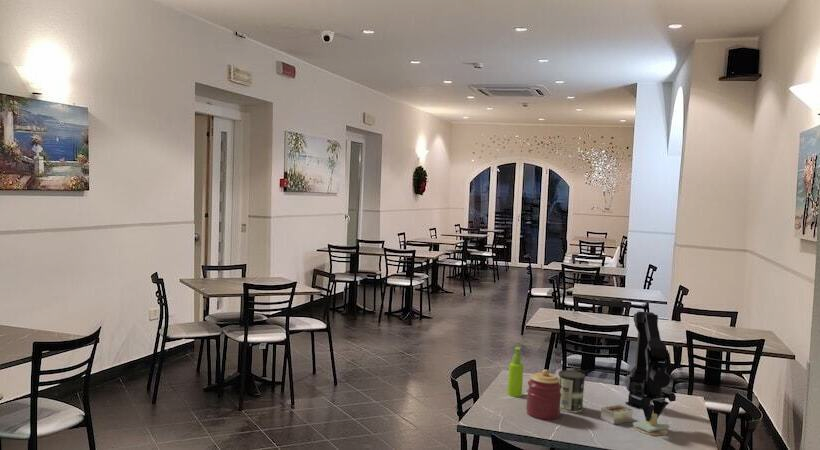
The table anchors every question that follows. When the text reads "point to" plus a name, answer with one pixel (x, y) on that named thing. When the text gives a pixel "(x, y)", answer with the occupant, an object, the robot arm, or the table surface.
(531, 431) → the table surface
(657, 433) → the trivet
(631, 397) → the robot arm
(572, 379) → the coffee can
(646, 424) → the lid
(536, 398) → the canister
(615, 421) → the tin
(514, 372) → the soap dispenser
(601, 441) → the table surface
